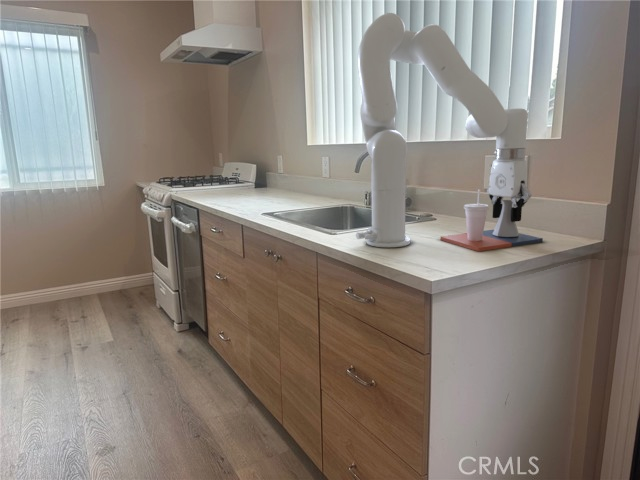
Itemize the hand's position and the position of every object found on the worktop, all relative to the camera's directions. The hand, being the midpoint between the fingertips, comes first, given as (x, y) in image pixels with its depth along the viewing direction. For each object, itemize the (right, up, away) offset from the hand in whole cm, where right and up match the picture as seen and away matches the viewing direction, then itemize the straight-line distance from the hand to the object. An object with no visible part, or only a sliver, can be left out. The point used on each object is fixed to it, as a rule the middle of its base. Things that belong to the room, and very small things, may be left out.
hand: (506, 218), depth 123 cm
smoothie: (-10, -6, -3) cm, 12 cm away
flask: (0, -5, +1) cm, 5 cm away
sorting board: (-5, -6, -1) cm, 8 cm away
